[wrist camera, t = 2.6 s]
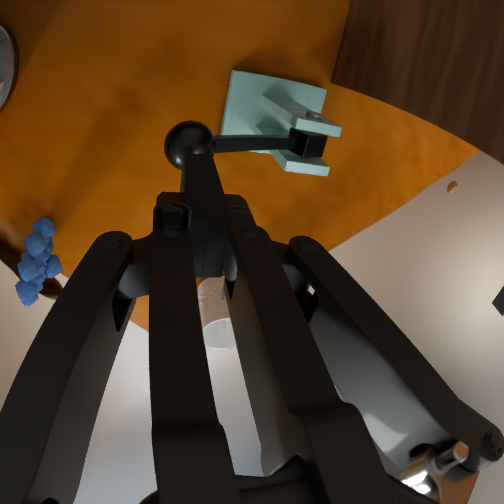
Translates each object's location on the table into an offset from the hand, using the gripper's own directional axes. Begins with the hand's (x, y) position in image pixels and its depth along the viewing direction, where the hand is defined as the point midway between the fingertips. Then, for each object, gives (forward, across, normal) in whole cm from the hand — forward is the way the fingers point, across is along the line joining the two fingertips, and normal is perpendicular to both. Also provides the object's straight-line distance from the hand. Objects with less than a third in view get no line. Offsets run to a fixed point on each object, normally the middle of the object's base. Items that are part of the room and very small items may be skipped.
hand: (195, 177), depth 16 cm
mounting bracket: (+22, +11, 0) cm, 25 cm away
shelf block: (+22, +24, +13) cm, 35 cm away
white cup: (+23, +8, -30) cm, 38 cm away
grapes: (+23, -19, -20) cm, 36 cm away
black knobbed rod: (+9, +4, 0) cm, 10 cm away
